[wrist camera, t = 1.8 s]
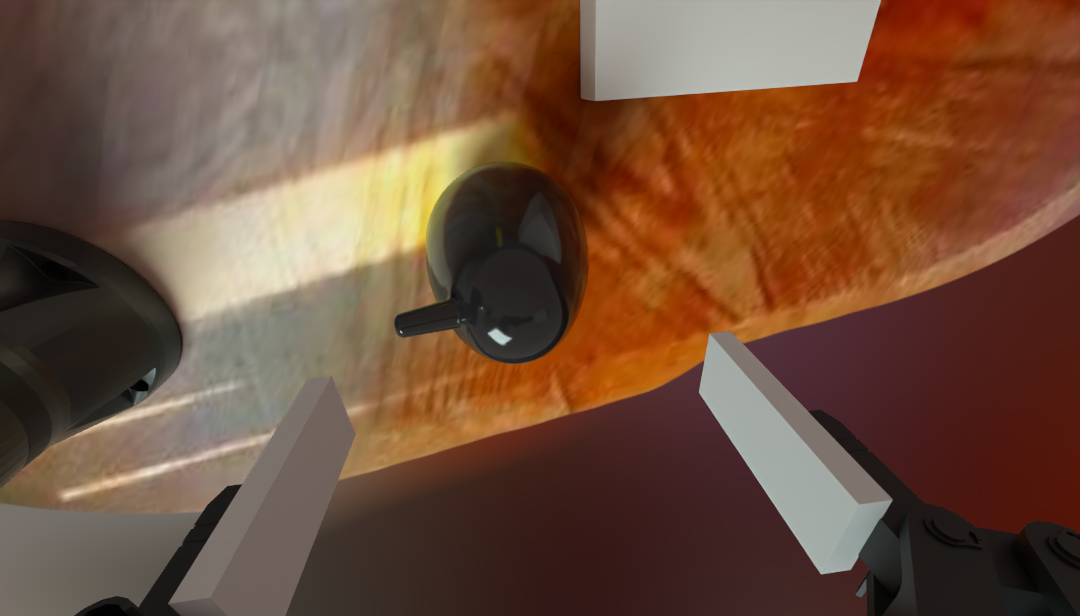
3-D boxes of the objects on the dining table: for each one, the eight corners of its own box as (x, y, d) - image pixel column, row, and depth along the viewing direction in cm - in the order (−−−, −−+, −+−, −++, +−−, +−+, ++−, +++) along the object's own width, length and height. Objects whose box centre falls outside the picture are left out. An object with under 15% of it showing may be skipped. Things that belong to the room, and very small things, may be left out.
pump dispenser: (423, 151, 27) (362, 218, 14) (576, 153, 28) (656, 217, 15) (438, 287, 32) (404, 433, 19) (566, 284, 33) (620, 419, 20)
